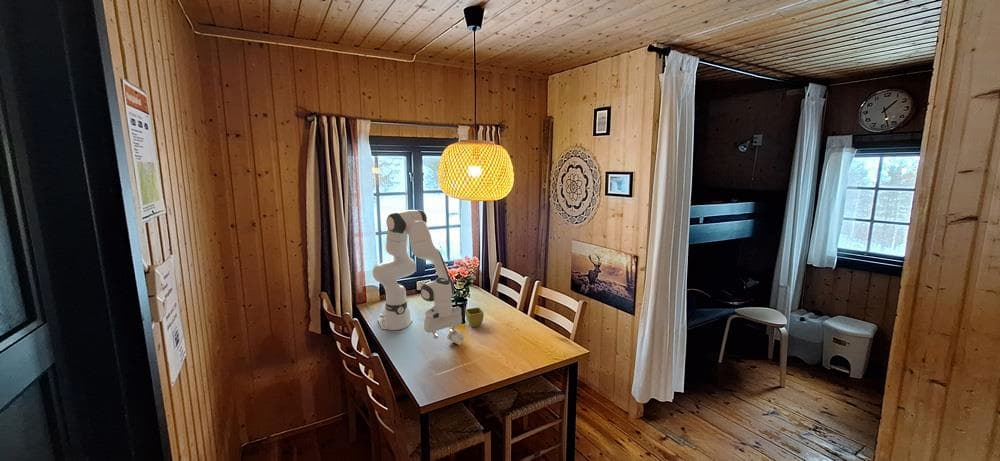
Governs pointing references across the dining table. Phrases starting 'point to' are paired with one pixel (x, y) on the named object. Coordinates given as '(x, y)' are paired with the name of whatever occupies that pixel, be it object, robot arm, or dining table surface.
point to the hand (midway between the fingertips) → (443, 335)
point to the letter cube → (456, 337)
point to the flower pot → (474, 316)
